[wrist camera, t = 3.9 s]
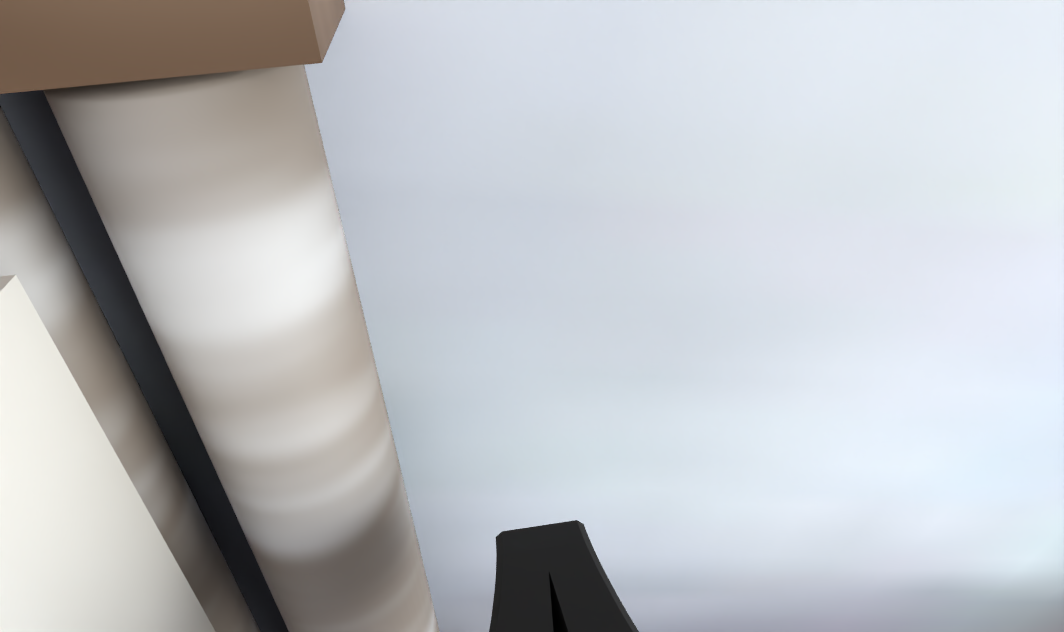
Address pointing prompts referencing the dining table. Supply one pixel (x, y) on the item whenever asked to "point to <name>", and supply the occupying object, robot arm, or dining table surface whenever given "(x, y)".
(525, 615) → the robot arm
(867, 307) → the dining table surface
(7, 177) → the roller track
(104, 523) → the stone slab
